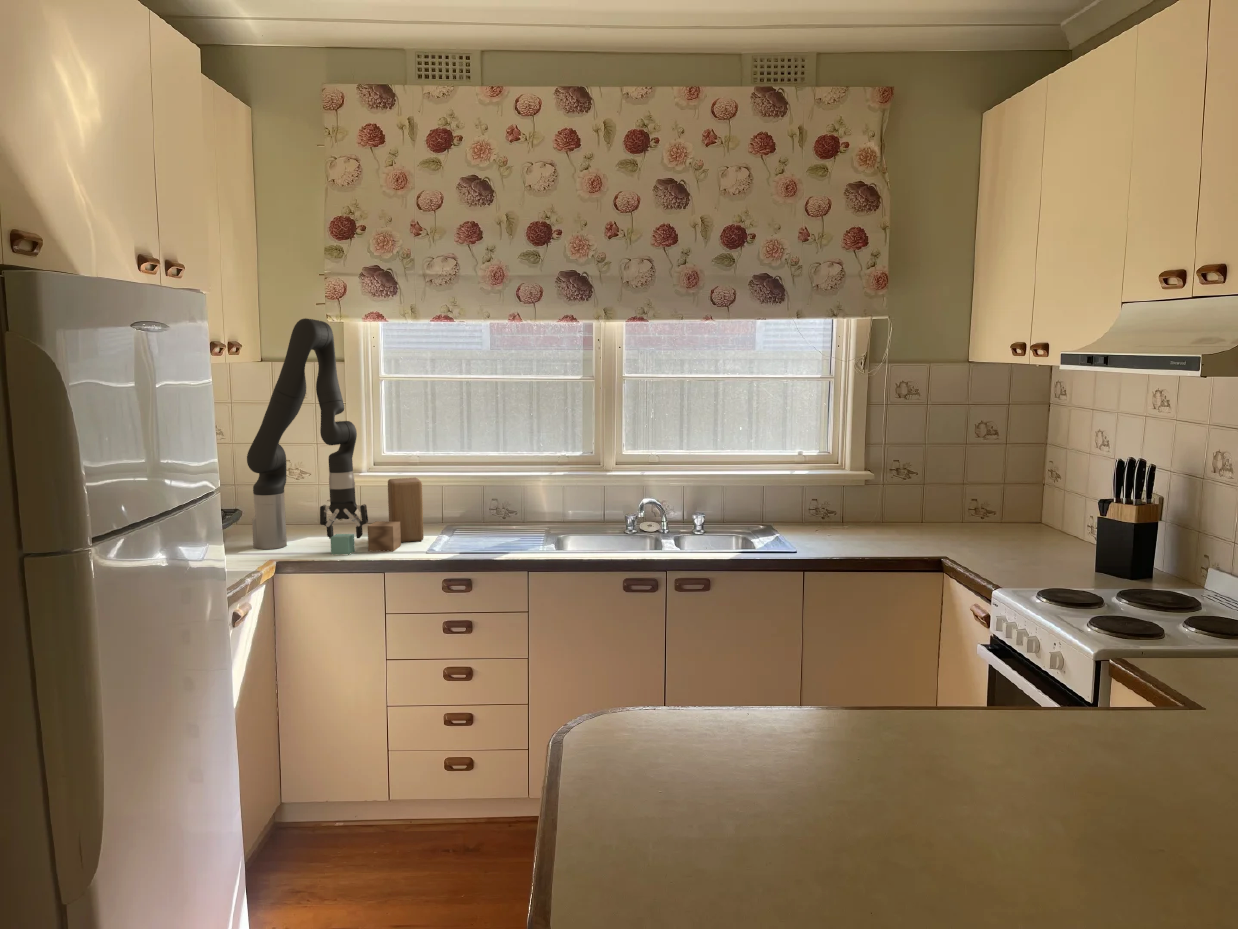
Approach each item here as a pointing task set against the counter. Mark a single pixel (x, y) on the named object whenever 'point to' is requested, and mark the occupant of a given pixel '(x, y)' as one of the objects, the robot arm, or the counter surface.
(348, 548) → the teal cube
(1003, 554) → the counter surface
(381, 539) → the walnut block
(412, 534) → the block
